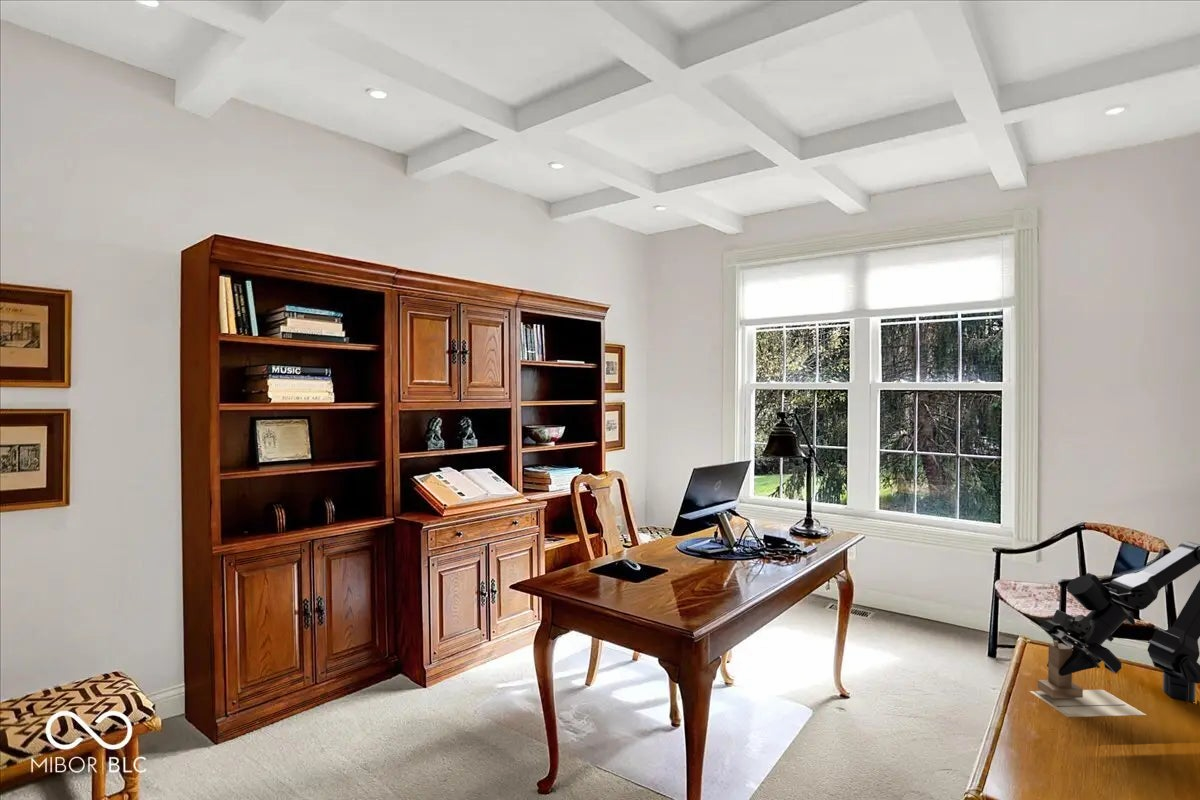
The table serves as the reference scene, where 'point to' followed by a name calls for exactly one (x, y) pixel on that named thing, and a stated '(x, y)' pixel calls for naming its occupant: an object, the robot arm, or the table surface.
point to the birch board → (1090, 704)
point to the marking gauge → (1057, 683)
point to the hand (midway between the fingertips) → (1054, 671)
